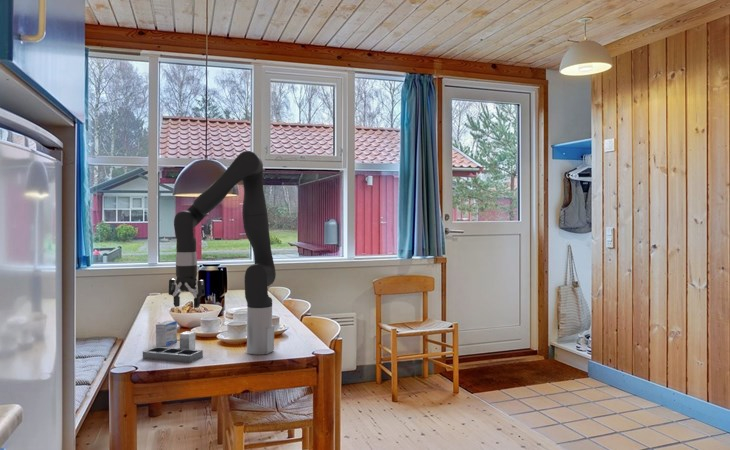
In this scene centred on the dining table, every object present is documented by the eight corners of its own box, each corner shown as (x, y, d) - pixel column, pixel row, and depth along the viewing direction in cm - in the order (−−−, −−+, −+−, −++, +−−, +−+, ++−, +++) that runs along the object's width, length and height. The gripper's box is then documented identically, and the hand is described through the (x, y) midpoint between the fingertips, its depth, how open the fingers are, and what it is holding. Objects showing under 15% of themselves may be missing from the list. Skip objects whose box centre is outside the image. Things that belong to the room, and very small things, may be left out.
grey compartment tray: (202, 356, 185) (202, 350, 185) (189, 362, 177) (189, 356, 177) (156, 352, 190) (156, 346, 190) (142, 358, 182) (142, 351, 182)
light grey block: (195, 350, 194) (195, 332, 194) (189, 353, 190) (189, 334, 190) (185, 349, 195) (186, 331, 195) (179, 352, 191) (179, 333, 191)
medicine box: (165, 347, 198) (165, 324, 198) (155, 346, 199) (155, 324, 199) (177, 342, 206) (177, 320, 206) (167, 341, 207) (167, 320, 207)
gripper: (208, 263, 194) (208, 306, 194) (176, 262, 198) (177, 304, 198) (196, 265, 187) (196, 309, 187) (163, 264, 191) (164, 307, 191)
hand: (186, 307), depth 193 cm, fingers open, 8 cm apart
